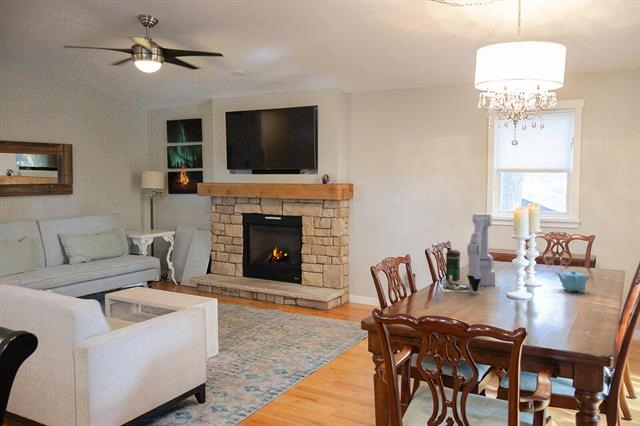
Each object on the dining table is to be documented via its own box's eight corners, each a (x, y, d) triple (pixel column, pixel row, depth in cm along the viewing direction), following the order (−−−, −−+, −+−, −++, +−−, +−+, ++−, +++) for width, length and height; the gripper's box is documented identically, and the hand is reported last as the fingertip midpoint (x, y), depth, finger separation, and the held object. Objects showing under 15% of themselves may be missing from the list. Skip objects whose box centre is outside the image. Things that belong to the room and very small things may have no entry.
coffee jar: (456, 281, 322) (456, 251, 321) (444, 280, 326) (444, 251, 325) (461, 278, 330) (461, 249, 329) (449, 277, 334) (449, 249, 333)
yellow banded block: (477, 292, 288) (478, 283, 288) (479, 294, 285) (479, 284, 285) (468, 292, 288) (468, 283, 288) (469, 294, 285) (469, 284, 285)
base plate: (471, 285, 308) (471, 284, 308) (477, 292, 289) (477, 291, 289) (438, 285, 310) (438, 284, 310) (442, 292, 291) (442, 291, 291)
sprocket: (452, 283, 311) (452, 273, 311) (478, 287, 298) (478, 276, 298) (436, 287, 300) (436, 276, 300) (462, 291, 287) (462, 280, 287)
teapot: (593, 294, 280) (594, 273, 279) (558, 293, 283) (558, 273, 283) (585, 288, 295) (585, 268, 294) (551, 287, 299) (551, 268, 298)
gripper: (464, 263, 293) (464, 287, 294) (469, 267, 279) (468, 292, 280) (476, 263, 293) (476, 287, 293) (482, 267, 278) (482, 292, 279)
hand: (473, 289), depth 286 cm, fingers open, 7 cm apart
